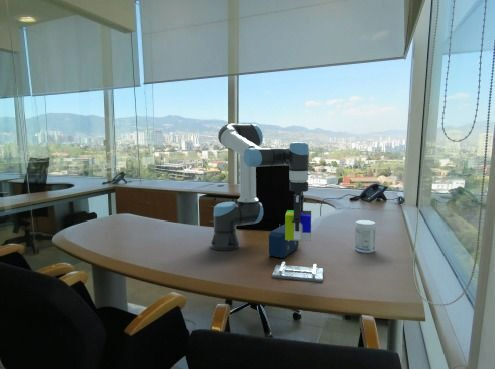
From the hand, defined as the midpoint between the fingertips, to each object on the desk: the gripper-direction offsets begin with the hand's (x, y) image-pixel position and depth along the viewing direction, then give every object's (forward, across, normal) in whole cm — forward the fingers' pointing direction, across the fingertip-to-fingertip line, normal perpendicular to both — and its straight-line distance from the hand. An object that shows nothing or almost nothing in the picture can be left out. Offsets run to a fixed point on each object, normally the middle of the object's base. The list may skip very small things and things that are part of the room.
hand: (298, 234), depth 130 cm
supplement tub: (+17, +37, -30) cm, 51 cm away
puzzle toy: (+1, 0, 0) cm, 1 cm away
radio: (+17, +26, +9) cm, 32 cm away
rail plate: (+17, 0, 0) cm, 17 cm away
